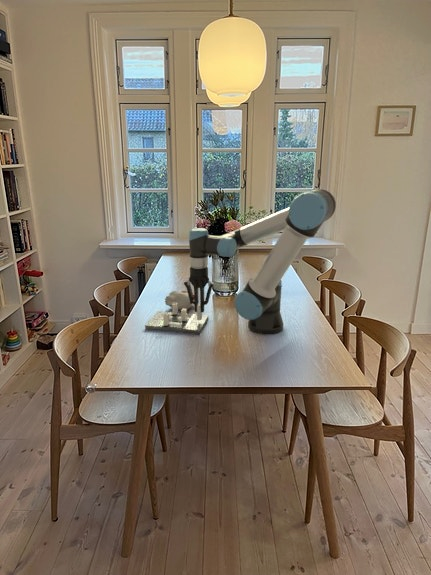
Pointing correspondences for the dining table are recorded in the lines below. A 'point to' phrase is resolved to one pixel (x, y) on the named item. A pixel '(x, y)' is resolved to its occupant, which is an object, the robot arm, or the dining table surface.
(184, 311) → the breaker mid
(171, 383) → the dining table surface
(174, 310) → the breaker far
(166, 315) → the breaker near
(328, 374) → the dining table surface
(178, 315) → the panel
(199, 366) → the dining table surface
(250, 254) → the dining table surface
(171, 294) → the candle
